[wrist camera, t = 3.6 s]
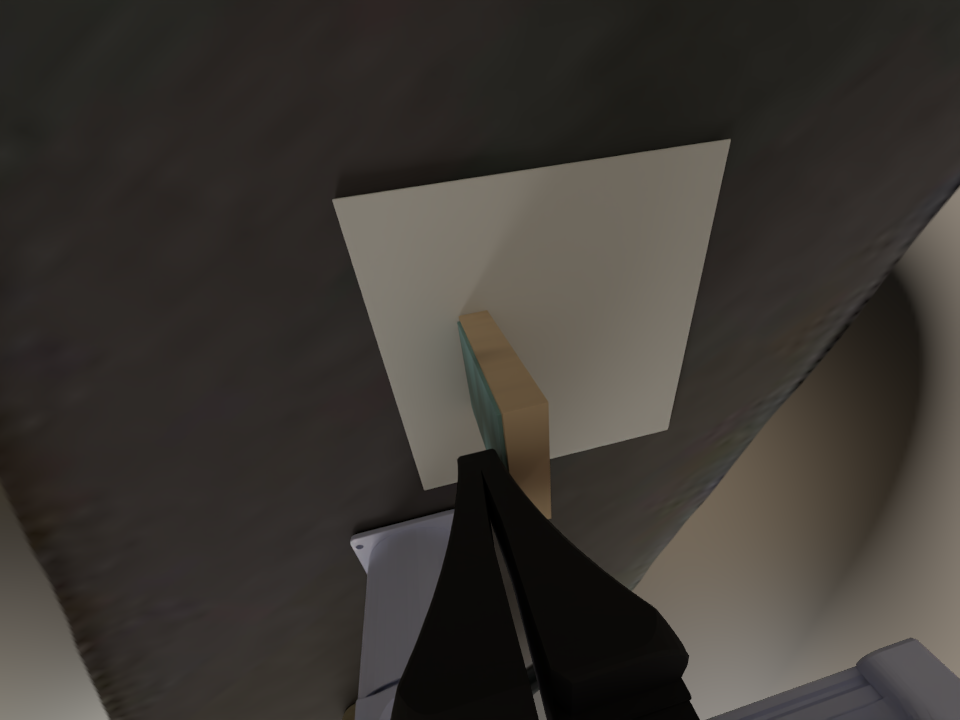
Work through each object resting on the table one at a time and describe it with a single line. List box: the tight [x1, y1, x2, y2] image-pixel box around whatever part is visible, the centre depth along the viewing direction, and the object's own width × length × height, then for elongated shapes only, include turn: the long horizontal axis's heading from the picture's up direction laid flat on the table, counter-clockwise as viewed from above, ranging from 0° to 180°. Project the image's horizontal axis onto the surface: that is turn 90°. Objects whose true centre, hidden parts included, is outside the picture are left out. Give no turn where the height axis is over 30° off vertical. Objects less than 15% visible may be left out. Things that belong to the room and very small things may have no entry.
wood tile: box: [457, 310, 551, 519], centre depth 16 cm, size 6×2×8 cm, turn 7°
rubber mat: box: [332, 139, 731, 490], centre depth 20 cm, size 18×18×1 cm
